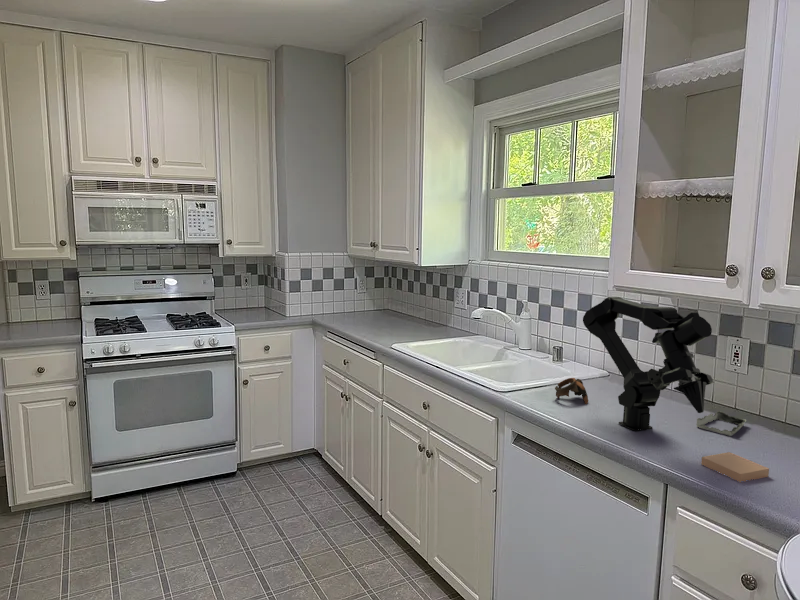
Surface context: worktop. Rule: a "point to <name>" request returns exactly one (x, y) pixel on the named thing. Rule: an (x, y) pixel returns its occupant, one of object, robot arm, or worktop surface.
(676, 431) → the worktop surface
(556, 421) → the worktop surface
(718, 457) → the flat brown rectangular block
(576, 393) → the brown arched part
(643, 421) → the robot arm
